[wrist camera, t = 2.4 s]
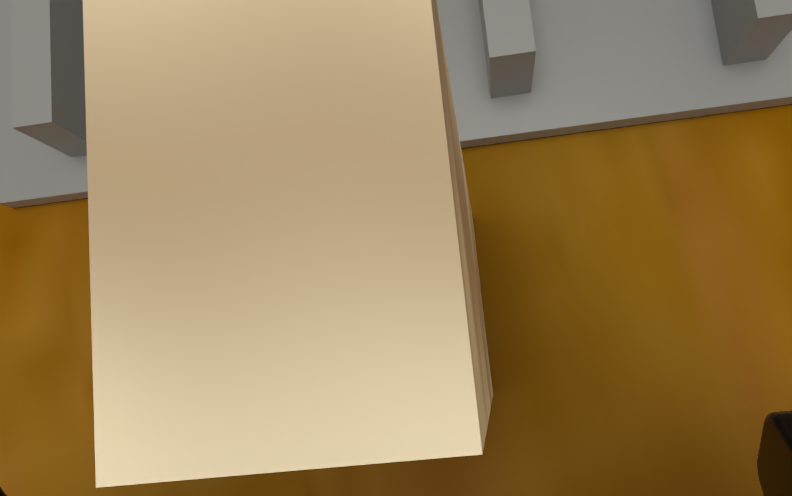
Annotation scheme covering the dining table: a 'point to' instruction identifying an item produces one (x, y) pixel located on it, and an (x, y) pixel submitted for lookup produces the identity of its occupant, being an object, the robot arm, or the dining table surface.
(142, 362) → the birch block
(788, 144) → the dining table surface
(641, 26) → the slotted rack
